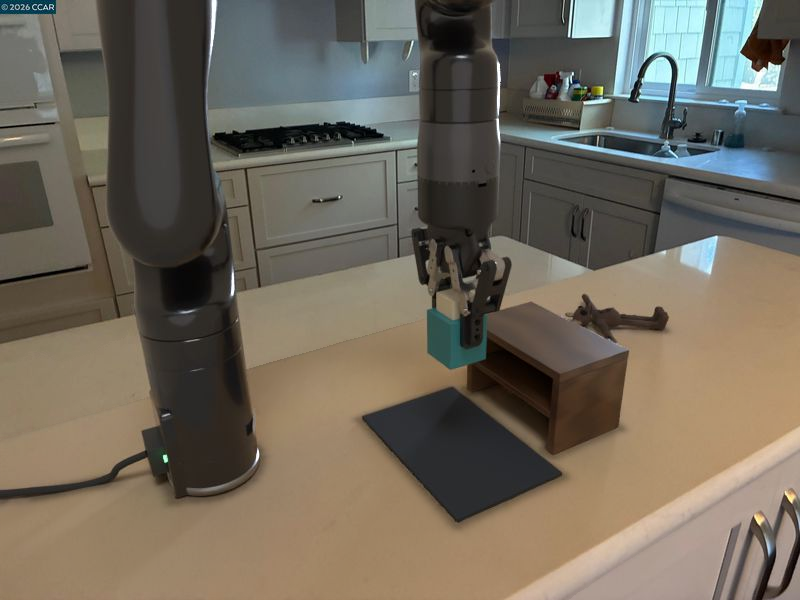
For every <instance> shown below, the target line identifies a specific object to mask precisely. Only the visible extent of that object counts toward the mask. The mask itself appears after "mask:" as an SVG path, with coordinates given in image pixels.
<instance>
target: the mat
mask: <svg viewBox="0 0 800 600" xmlns="http://www.w3.org/2000/svg"><path fill="white" fill-rule="evenodd" d="M361 419H362V420H363V422H364V423H365V424H366V425H367V426H368V427H369V428H370V429H371V430H372V432H374V434H375V435H376V436H377V437H378V438H379V439H380V440H381V441H382V442H383V443H384V445H385V446H387V448H389V450H390V451H391V452H392V453H393V454H394V455H395V457H396V458H398V460H399V461H400V462H401V463H402V464H403V465H404V466H405V467H406V468H407V470H408V471H410V473H411V474H412V475H413V477H415V478H416V480H418V481H419V483H420V484H421V485H423V487H424V488H425V489H426V490H427V491H428V492H429V494H430V495H432V497H433V498H434V499H435V500H436V501H437V502H438V503H439V504H440V505H441V506H442V508H443V509H444V510H445V511H446V512H447V514H449V515H450V516H451V517H452V519H454V520H455V522H456V523H460V522H463V521H465V520H466V519H468V518H470V517H473V516H475V515H477V514H480V513H482V512H485V511H486V510H488V509H491V508H493V507H495V506H497V505H500V504H502V503H504V502H506V501H509V500H510V499H513V498H515V497H517V496H520V495H522V494H524V493H526V492H528V491H532V490H533V489H536V488H537V487H541V486H542V485H544V484H546V483H548V482H550V481H551V482H552V481H553V480H555V479H557V478H560V477H562V476H563V472H562V471H561V470H560V469H558V468H557V467H556V466H555V465H554V464H552V463H551V462H550V461H548V460H547V459H545V458H544V457H543V456H542V455H541V454H539V452H537V451H536V450H534V449H533V448H532V447H530V446H529V445H528V444H526V442H524V441H523V440H521V439H520V438H519V437H518V436H516V435H515V434H514V433H513V432H511V431H510V430H509V429H508V428H506V427H505V426H503V425H502V424H501V423H500V422H498V421H497V420H496V419H494V417H492V416H491V415H490V414H488V412H486V411H484V409H482V408H481V407H480V406H478V405H477V404H475V403H474V402H473V401H472V400H471V399H470V398H468V397H467V396H466V395H464V394H463V393H462V392H460V390H458V389H456V387H454V386H453V385H452V386H449V387H445V388H443V389H440V390H436V391H434V392H431V393H428V394H424V395H422V396H419V397H416V398H413V399H409V400H407V401H404V402H401V403H397V404H395V405H392V406H388V407H386V408H382V409H380V410H376V411H373V412H370V413H367V414H365V415H362V416H361Z"/></svg>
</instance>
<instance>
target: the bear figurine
mask: <svg viewBox="0 0 800 600" xmlns="http://www.w3.org/2000/svg"><path fill="white" fill-rule="evenodd" d="M581 299H582V302H583V303H584V304H585V305H578V307H577V308H576V309H575V311H574V312H565V313H564V315H565V316H566V317H567V318H572V320H571V321H572V322H574V323H576V324H578V325H580V326H582V327H584V328H586V327H587V326H588V325H589V324H590V323H592V325H593V326H594V327H597V328H598V329H599V330H600V331H601V333H602V335H603V337H604V338H606V339H608V340H610V341H612V342H614V343H616V344H618V341H617V339H616V338H615V337H614V335H613V334H612V332H611V329H610V328H617V327H618V326H622V327H623V326H625V327H636V328H648V329H650V330H653V329H657V330H659V331H664V330H665V329H666V327H667V324H668V322H669V320H670V316H669V315H668V314H669V313H668V312H667V311H665V309H664V308H663V306H661V305H660V306H658V305H657V306H655V307H654V311H653V314H652V315H651V316H648V315H647V316H646V315H636V314H626V313H620V312H619V311H618V310H617V309H616V308H615V307H613V306H612V307H606V308H602V309H598V308H597V306H596V305H595V304H594V303H593V302H592V300H591V298H590V296H589V295H588V294H587V293H586V294H585V293H583V294H581Z"/></svg>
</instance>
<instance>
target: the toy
mask: <svg viewBox="0 0 800 600" xmlns="http://www.w3.org/2000/svg"><path fill="white" fill-rule="evenodd" d="M469 296H470V302H472V301H473V300H474V296H475V292H473V291H470V292H469ZM461 313H462V312H461V308H460V302H459V296H458V293H457V292H455V291H454V290H453V288H452V289H448V290H444V291H440V292H436V307H435V308H432V307H431V308H428V309H426V352H427V354H428V355H429V356H430V357H432V358H433V359H435V360H436V361H437V362H439V363H440V364H442V365H443V366H444V367H445V368H447V369H448V370H450V371H453V370H456V369H459V368H462V367H465V366H467V365H469V364H472V363H475V362H478V361H481V360H484V359H486V340H487V314H484V319H483V340H482V343H481V344H480V345H479V346H477V347H474V348H470V349H464V348H463V347H461V346H460V314H461Z"/></svg>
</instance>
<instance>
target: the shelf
mask: <svg viewBox="0 0 800 600" xmlns="http://www.w3.org/2000/svg"><path fill="white" fill-rule="evenodd" d="M629 353H630V349H628V348H626V347H624V346H622V345H621V344H618V343H617V344H616V343H614V342H612V341H610V340H608V339H606V338H605V336H602V335H600V334H598V333H596V332H593V331H592V330H589V329H587V328H586V327H585V328H584V327H582V326H580V325H578V324H576V323H574V322H572V320H570V319H567V318H565V317H564V316H562V315H559V314H557V313H556V312H553V311H552V310H549V309H548V308H545V307H543V306H542V305H539V304H537V303H536V302H533V301H528V302H524V303H521V304H516V305H513V306H509V307H505V308H502V309H500V310H499V311H497V312H492V313H488V314H487V340H486V359H484V360H481V361H478V362H475V363H472V364H469V365H466V390H467V391H469V392H470V393H473V392H476V391H479V390H482V389H486V388H488V387H490V386H491V387H492V386H495V385H498V384H500V385H501V386H503V387H504V389H505V388H506V389H507V390H508V391H510V392H511V393H512V394H514V395H515V396H516V397H518V398H520V400H523V401H524V402H525V403H526V404H527V405H530V406H531V407H532V408H533V409H536V410H537V411H538V412H540V413H541V414H542V415H544V416H545V417H547V418H548V419H549V421H548V431H547V433H548V434H547V445H546V451H547V452H548V453H550V455H553V456H554V455H556V454H558V453H561V452H563V451H566V450H567V449H570V448H572V447H575V446H577V445H580V444H582V443H584V442H587V441H589V440H591V439H593V438H596V437H599V436H601V435H603V434H605V433H608V432H610V431H612V430H615V429H617V428H619V426H620V419H621V410H622V404H623V398H624V397H623V396H624V389H625V382H626V375H627V368H628V360H629Z"/></svg>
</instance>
